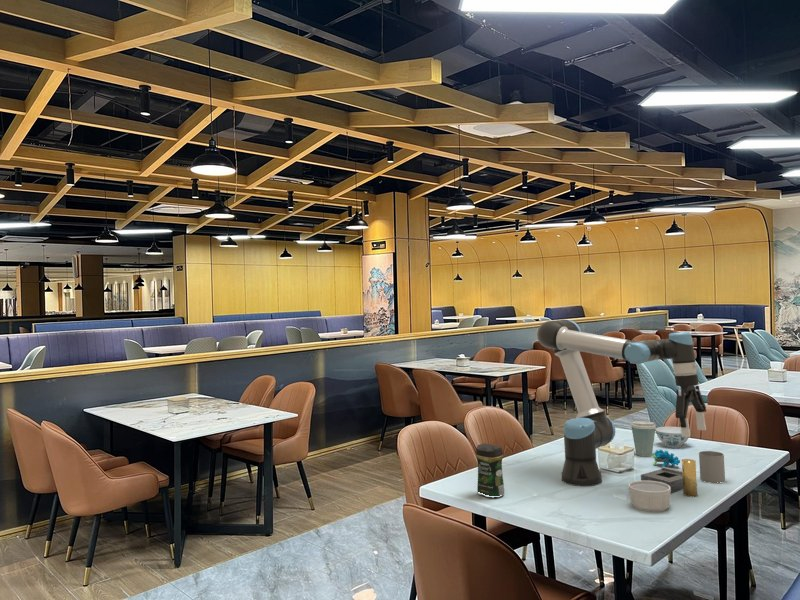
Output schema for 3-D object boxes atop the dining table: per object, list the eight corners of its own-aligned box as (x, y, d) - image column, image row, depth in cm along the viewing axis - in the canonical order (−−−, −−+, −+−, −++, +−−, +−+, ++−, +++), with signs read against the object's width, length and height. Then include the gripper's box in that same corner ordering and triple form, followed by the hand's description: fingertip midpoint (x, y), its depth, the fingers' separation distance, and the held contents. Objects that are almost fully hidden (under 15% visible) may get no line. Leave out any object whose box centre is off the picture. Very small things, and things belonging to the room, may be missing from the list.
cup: (711, 484, 215) (710, 457, 216) (695, 478, 223) (693, 452, 224) (730, 481, 218) (728, 454, 218) (713, 475, 226) (711, 450, 226)
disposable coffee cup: (628, 452, 266) (626, 419, 267) (652, 451, 266) (650, 419, 266) (636, 458, 256) (635, 424, 256) (661, 457, 255) (660, 423, 256)
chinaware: (665, 441, 285) (664, 425, 285) (696, 445, 274) (695, 429, 274) (650, 446, 276) (649, 430, 276) (682, 451, 264) (681, 434, 264)
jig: (670, 493, 207) (669, 480, 207) (641, 485, 217) (640, 473, 218) (693, 485, 214) (693, 473, 214) (664, 478, 225) (663, 466, 225)
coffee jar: (473, 495, 214) (471, 444, 215) (487, 490, 220) (485, 440, 220) (494, 500, 207) (492, 448, 208) (508, 495, 213) (505, 444, 213)
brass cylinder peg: (692, 497, 202) (690, 462, 202) (680, 494, 206) (679, 460, 206) (700, 494, 204) (698, 460, 204) (688, 491, 208) (686, 458, 208)
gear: (685, 463, 238) (671, 448, 236) (680, 475, 236) (666, 460, 233) (662, 461, 248) (648, 447, 246) (657, 473, 245) (643, 459, 243)
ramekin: (622, 507, 195) (621, 486, 195) (638, 497, 204) (637, 477, 205) (662, 516, 186) (661, 494, 186) (678, 505, 195) (677, 484, 195)
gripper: (681, 377, 200) (690, 439, 199) (710, 370, 217) (718, 427, 215) (659, 378, 206) (668, 438, 204) (689, 371, 222) (697, 427, 221)
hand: (694, 433), depth 210 cm, fingers open, 13 cm apart
